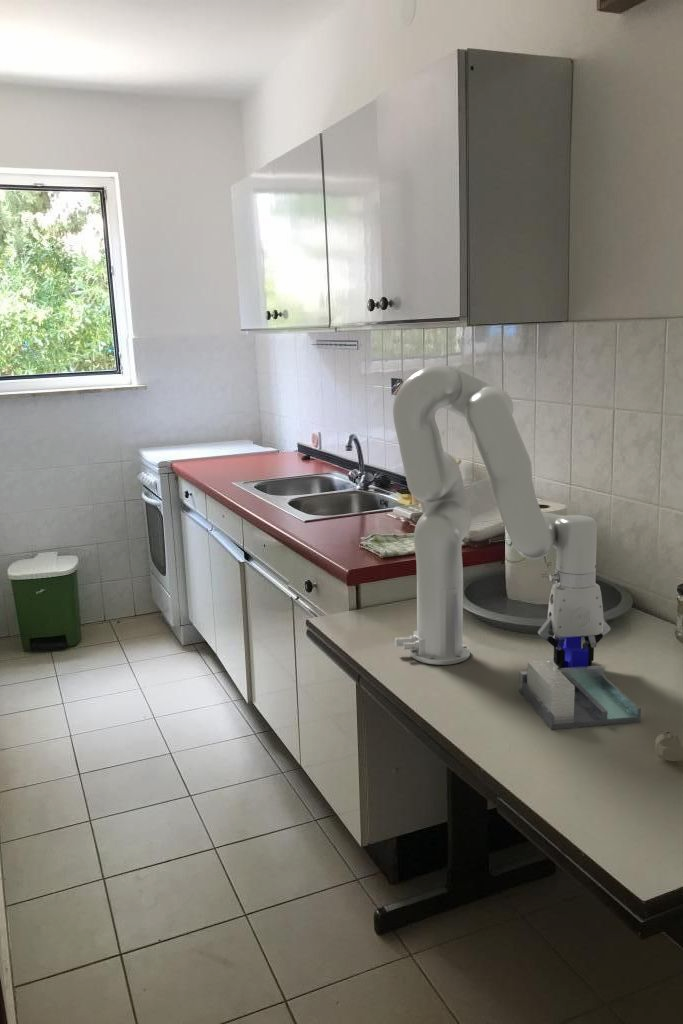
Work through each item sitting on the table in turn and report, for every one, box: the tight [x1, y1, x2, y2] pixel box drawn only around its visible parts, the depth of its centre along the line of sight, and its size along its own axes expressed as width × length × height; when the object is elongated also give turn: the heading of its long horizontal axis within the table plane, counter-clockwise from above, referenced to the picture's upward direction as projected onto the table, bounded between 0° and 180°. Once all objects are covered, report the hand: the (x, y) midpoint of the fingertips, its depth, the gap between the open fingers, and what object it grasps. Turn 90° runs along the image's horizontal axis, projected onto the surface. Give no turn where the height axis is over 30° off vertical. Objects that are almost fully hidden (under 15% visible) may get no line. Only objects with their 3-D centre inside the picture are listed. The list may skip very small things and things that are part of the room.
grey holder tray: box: [518, 659, 642, 731], centre depth 150 cm, size 16×16×7 cm
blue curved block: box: [563, 637, 589, 668], centre depth 168 cm, size 12×4×6 cm, turn 172°
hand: (573, 664), depth 168 cm, fingers closed on blue curved block, 5 cm apart
